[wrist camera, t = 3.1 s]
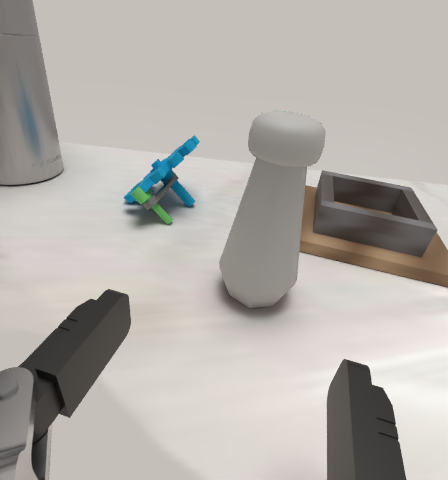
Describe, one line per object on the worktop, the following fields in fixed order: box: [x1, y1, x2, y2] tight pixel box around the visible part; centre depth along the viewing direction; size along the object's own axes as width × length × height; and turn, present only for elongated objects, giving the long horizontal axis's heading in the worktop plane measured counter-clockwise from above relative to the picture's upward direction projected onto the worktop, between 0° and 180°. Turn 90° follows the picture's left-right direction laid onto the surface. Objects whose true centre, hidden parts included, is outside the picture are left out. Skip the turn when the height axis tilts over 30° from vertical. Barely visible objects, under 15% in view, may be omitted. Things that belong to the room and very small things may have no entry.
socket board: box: [299, 171, 448, 287], centre depth 33 cm, size 16×14×4 cm
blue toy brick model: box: [124, 136, 199, 225], centre depth 33 cm, size 11×6×10 cm
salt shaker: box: [219, 111, 325, 308], centre depth 21 cm, size 6×6×13 cm
